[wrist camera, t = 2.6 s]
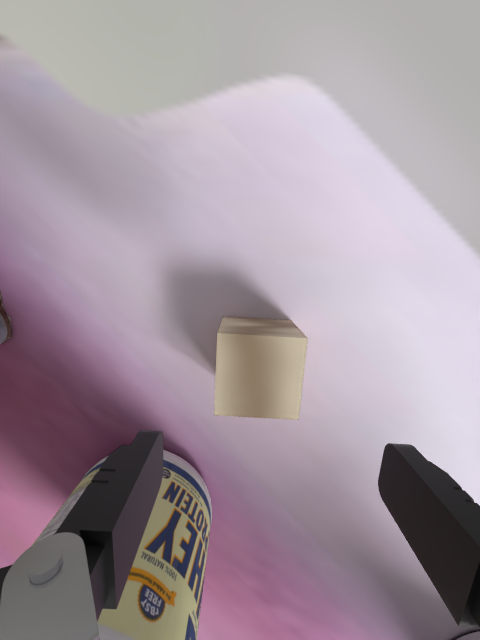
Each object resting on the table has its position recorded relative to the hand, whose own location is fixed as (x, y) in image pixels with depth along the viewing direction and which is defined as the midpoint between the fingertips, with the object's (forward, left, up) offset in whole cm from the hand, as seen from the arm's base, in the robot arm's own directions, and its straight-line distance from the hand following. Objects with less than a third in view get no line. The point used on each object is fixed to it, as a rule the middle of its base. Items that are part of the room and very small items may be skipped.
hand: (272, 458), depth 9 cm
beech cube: (0, 0, -13) cm, 13 cm away
